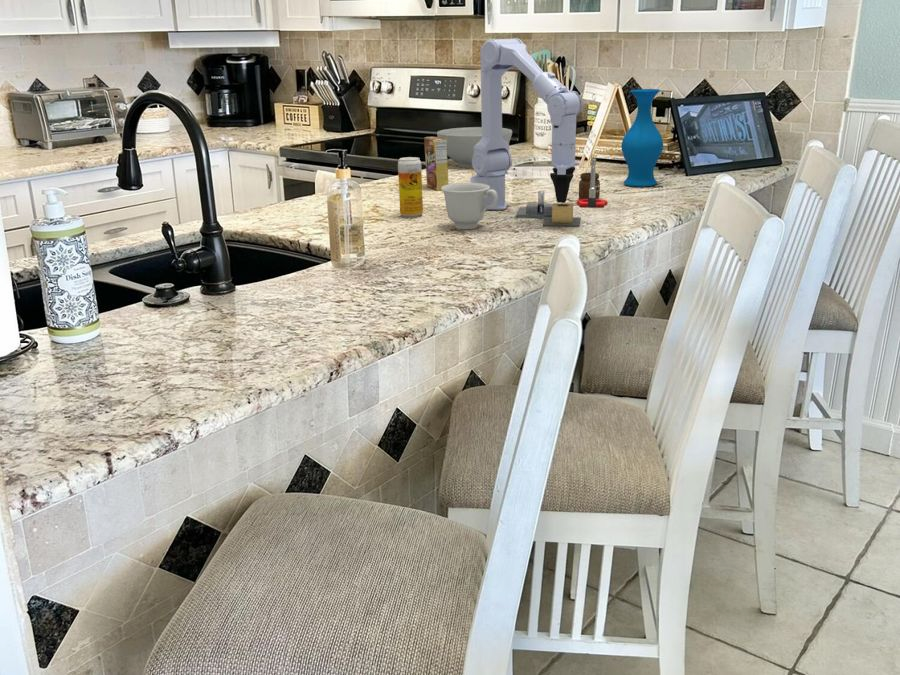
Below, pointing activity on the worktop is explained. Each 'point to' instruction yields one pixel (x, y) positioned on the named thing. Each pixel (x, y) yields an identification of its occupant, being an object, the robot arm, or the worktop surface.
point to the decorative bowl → (465, 143)
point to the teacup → (467, 203)
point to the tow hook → (592, 193)
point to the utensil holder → (588, 183)
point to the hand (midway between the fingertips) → (562, 199)
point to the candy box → (436, 162)
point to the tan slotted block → (562, 213)
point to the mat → (574, 223)
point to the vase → (642, 142)
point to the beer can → (410, 187)
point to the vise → (536, 209)
